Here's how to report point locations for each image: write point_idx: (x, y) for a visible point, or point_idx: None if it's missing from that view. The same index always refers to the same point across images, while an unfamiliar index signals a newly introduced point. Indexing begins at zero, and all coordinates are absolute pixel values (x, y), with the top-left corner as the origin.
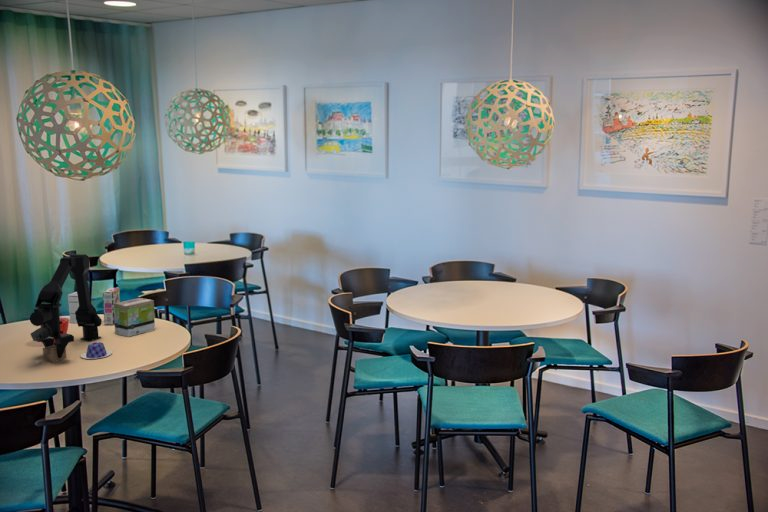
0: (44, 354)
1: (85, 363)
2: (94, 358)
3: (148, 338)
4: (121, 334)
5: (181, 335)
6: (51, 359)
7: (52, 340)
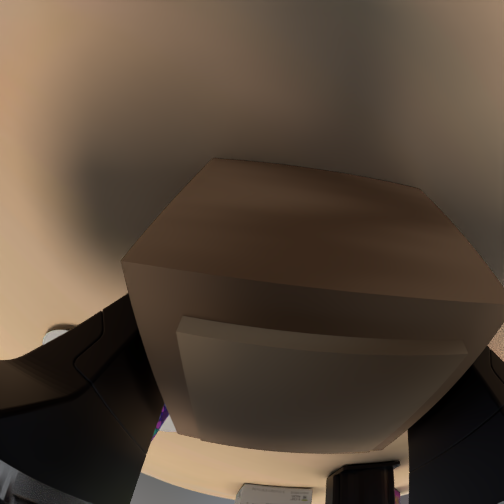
0: (429, 222)
1: (9, 265)
2: (45, 337)
3: (182, 474)
4: (280, 489)
5: (143, 472)
6: (235, 171)
7: (422, 491)
